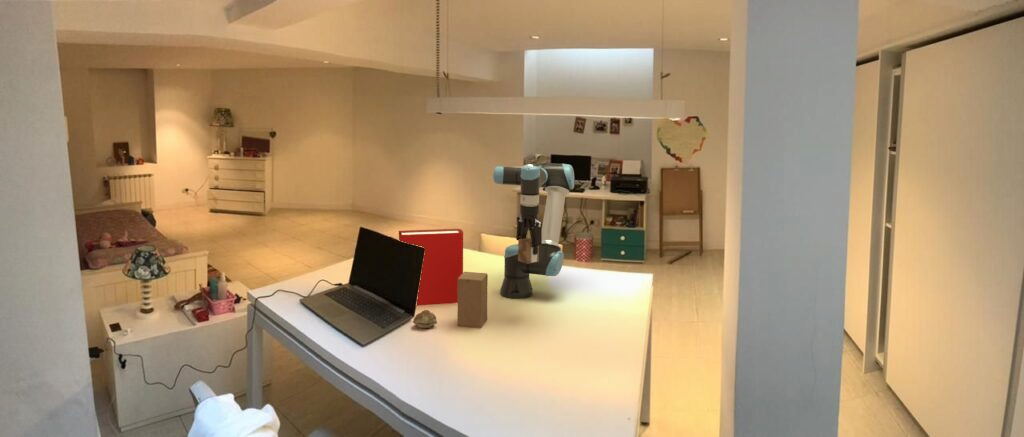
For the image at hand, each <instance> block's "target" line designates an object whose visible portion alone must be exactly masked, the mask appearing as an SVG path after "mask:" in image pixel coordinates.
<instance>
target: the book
mask: <svg viewBox="0 0 1024 437" xmlns="http://www.w3.org/2000/svg"><path fill="white" fill-rule="evenodd" d="M399 240H400V241H403V242H406V243H409V244H414V245H418V246H422V247H424V248H425V255H424V261H423V267H422V273H421V280H420V285H419V292H418V299H417V306H432V305H434V306H435V305H446V304H447V305H448V304H458V278H459V277H460V276H461V275H462V274H463V273H464V231H463V230H462V229H461V228H442V229H440V228H438V229H418V230H417V229H416V230H415V229H414V230H413V229H412V230H398V241H399ZM417 306H416V307H417Z"/></svg>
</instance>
